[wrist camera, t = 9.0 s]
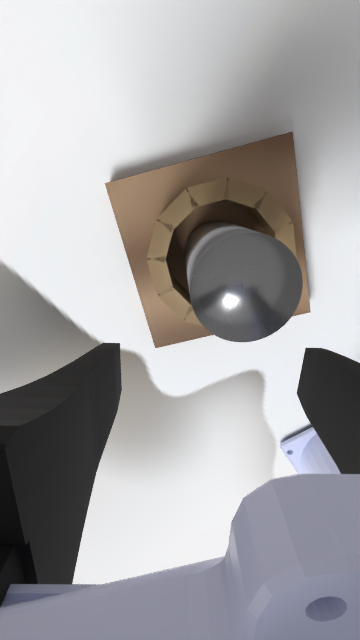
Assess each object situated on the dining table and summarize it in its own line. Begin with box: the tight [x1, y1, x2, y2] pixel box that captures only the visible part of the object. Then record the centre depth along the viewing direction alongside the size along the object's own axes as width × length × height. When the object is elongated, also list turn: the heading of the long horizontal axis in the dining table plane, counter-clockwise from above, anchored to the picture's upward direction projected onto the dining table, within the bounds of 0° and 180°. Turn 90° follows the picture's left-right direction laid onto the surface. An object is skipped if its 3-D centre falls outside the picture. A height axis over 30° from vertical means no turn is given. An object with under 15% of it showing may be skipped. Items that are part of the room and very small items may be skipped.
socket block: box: [105, 132, 310, 348], centre depth 18 cm, size 11×11×4 cm
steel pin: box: [184, 220, 303, 342], centre depth 15 cm, size 4×4×9 cm
